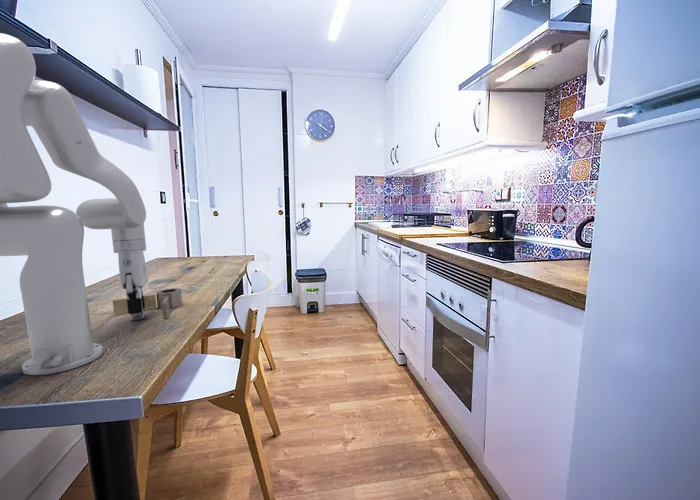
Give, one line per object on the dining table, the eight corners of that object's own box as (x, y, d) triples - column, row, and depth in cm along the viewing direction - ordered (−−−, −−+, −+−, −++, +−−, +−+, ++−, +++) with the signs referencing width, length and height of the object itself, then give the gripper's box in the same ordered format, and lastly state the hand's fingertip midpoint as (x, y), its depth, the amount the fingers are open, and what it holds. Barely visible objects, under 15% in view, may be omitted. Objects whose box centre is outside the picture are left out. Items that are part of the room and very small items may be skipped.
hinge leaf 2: (179, 316, 94) (177, 299, 94) (151, 320, 92) (149, 303, 91) (183, 302, 110) (181, 287, 109) (159, 304, 107) (158, 289, 106)
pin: (144, 319, 92) (139, 277, 90) (128, 321, 90) (123, 279, 89) (146, 315, 95) (142, 275, 94) (131, 317, 94) (126, 276, 92)
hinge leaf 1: (156, 308, 104) (155, 294, 103) (156, 308, 103) (155, 294, 102) (114, 314, 98) (112, 300, 97) (114, 315, 97) (112, 300, 97)
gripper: (140, 247, 84) (147, 317, 86) (150, 243, 99) (156, 302, 101) (104, 249, 82) (113, 322, 84) (120, 244, 96) (127, 306, 99)
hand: (136, 310), depth 92 cm, fingers closed on pin, 3 cm apart
